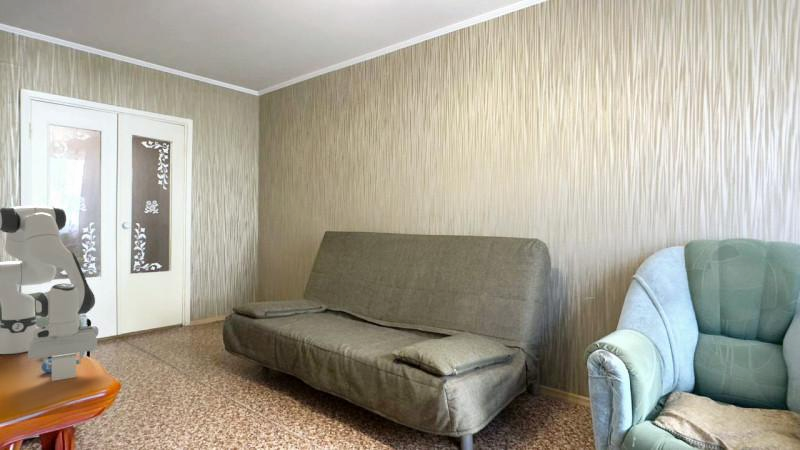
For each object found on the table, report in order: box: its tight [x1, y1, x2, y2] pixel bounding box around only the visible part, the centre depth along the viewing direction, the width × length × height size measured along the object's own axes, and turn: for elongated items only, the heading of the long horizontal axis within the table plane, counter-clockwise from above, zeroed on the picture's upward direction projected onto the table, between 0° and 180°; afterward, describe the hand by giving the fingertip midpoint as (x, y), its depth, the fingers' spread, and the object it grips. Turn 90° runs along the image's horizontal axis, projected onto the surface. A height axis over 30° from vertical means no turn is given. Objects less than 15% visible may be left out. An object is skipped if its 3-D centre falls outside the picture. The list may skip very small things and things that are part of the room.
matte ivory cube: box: [51, 353, 77, 382], centre depth 161 cm, size 7×7×8 cm
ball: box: [40, 358, 52, 374], centre depth 164 cm, size 5×5×5 cm
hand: (63, 366), depth 161 cm, fingers closed on matte ivory cube, 7 cm apart
